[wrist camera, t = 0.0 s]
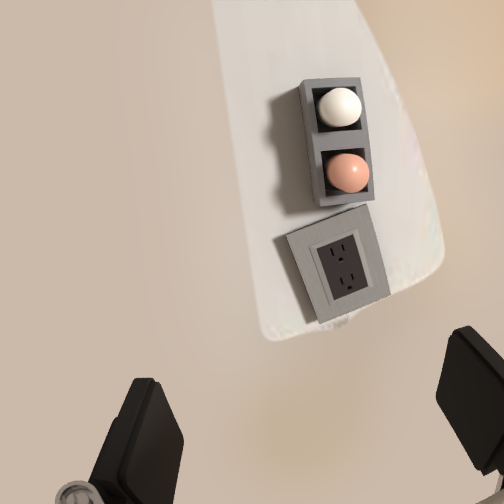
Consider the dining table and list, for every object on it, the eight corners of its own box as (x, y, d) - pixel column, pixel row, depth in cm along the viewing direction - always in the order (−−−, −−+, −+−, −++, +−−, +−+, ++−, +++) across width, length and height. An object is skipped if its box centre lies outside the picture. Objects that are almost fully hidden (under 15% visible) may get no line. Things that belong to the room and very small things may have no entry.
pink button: (322, 154, 35) (330, 155, 31) (355, 152, 34) (367, 152, 31) (326, 189, 36) (334, 194, 32) (358, 186, 36) (370, 190, 32)
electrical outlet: (385, 288, 43) (391, 295, 40) (316, 316, 44) (319, 325, 42) (361, 201, 39) (367, 204, 37) (283, 231, 40) (285, 236, 38)
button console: (298, 86, 34) (303, 79, 30) (349, 83, 34) (360, 77, 30) (313, 200, 38) (320, 206, 35) (363, 194, 38) (374, 200, 34)
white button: (313, 94, 32) (321, 88, 29) (347, 92, 32) (358, 87, 28) (318, 128, 34) (326, 126, 30) (352, 126, 34) (363, 124, 30)
